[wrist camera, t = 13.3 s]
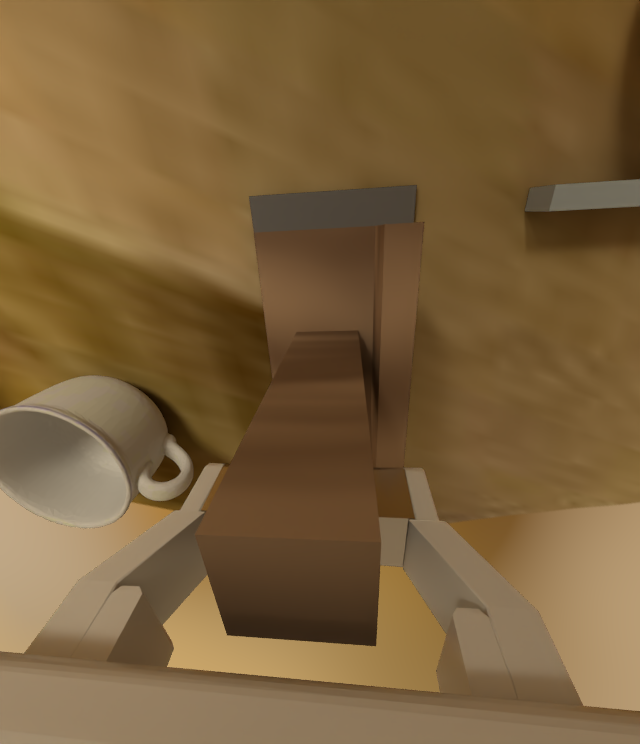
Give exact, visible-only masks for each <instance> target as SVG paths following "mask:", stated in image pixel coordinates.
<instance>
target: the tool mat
mask: <svg viewBox="0 0 640 744" xmlns="http://www.w3.org/2000/svg"><path fill="white" fill-rule="evenodd" d="M416 188H417V185H411V186H396V187H381V188H366V189H351V190H336V191H322V192H307V193H292V194H277V195H262V196H249V200H250V207H251V214H252V221H253V228H254V233H255V232H274V231H292V230H310V229H328V228H346V227H364V226H377V225H383V224H398V223H414V213H415V200H416Z"/></svg>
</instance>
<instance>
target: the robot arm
mask: <svg viewBox="0 0 640 744" xmlns="http://www.w3.org/2000/svg"><path fill="white" fill-rule="evenodd" d="M229 465H230V464H227V463H226V464H220V463H209V464H208V465H206V466H205V467H204V469H203V471H202V473H201V474H200V476H199V478H198V480H197V481H196V483H195V485H194V487H193V488H192V490H191V492H190V494H189V495H188V497H187V499H186V501H185V502H184V504H183V506H182V508H181V509H180V510H175V511H173V512H172V513H170V514H169V515H168V516H166V517H165V518H164V519H162V520H161V521H159V522H158V523H157V524H155V525H154V526H152V527H151V528H150V529H148V530H147V531H146V532H144V533H143V534H141V535H140V536H139V537H137V538H136V539H135V540H133V541H132V542H130V543H129V544H128V545H126V546H125V547H124V548H122V549H121V550H119V551H118V552H117V553H115V554H114V555H113V556H111V557H110V558H108V559H107V560H106V561H104V562H103V563H101V564H100V565H99V566H97V567H96V568H95V569H93V570H92V571H91V572H89V573H88V574H86V575H85V576H84V577H82V578H81V579H79V580H78V582H77V583H76V584H75V586H74V587H73V588H72V589H71V591H70V592H69V594H68V595H67V596H66V598H65V599H64V600H63V602H62V603H61V604H60V606H59V607H58V609H57V610H56V611H55V612H54V614H53V615H52V617H51V618H50V619H49V621H48V622H47V623H46V625H45V626H44V627H43V629H42V630H41V631H40V633H39V634H38V635H37V637H36V638H35V639H34V641H33V642H32V643H31V645H30V646H29V648H28V649H27V650H26V652H25V653H24V654H22V653H11V652H0V744H640V711H631V710H620V709H609V708H599V707H587V706H583V704H582V702H581V700H580V698H579V696H578V693H577V691H576V689H575V687H574V685H573V683H572V681H571V679H570V677H569V674H568V672H567V670H566V668H565V666H564V664H563V662H562V660H561V658H560V655H559V653H558V651H557V649H556V647H555V645H554V643H553V641H552V639H551V637H550V634H549V632H548V630H547V628H546V626H545V624H544V622H543V620H542V618H541V616H540V613H539V612H538V610H536V609H535V607H533V606H532V605H531V604H530V603H529V602H528V601H527V600H526V599H525V598H524V597H523V596H522V595H521V594H520V593H519V592H518V591H517V590H516V589H515V588H514V587H513V586H512V585H511V584H510V583H509V582H508V581H507V580H506V579H505V578H504V577H503V576H502V575H501V574H499V573H498V572H497V571H496V570H495V569H494V568H493V567H492V566H491V565H490V564H489V563H488V562H487V561H486V560H485V559H484V558H483V557H482V556H481V555H480V554H479V553H478V552H477V551H476V550H475V549H474V548H473V547H472V546H471V545H469V543H468V542H467V541H465V540H464V539H463V538H462V537H461V536H460V535H459V534H458V533H457V532H456V531H455V530H454V529H453V528H452V527H451V526H450V525H449V524H448V523H447V522H446V521H439V518H438V515H437V511H436V508H435V505H434V501H433V498H432V494H431V491H430V488H429V484H428V481H427V478H426V474H425V471H424V470H423V468H389V467H373V470H374V480H375V489H376V498H377V507H378V516H379V525H380V535H381V559H380V565H384V566H386V565H387V566H397V567H403V569H404V571H405V572H406V574H407V575H408V577H409V578H410V580H411V581H412V583H413V584H414V586H415V587H416V589H417V590H418V592H419V594H420V595H421V597H422V598H423V600H424V601H425V602H426V604H427V606H428V607H429V609H430V610H431V612H432V613H433V615H434V616H435V618H436V619H437V621H438V622H439V624H440V625H441V627H442V628H443V630H444V631H445V633H446V634H447V635H446V639H445V642H444V646H443V649H442V653H441V656H440V660H439V663H438V666H437V670H436V672H437V678H438V683H439V689H440V693H439V692H428V691H417V690H407V689H396V688H386V687H375V686H364V685H353V684H343V683H332V682H321V681H310V680H300V679H290V678H279V677H278V678H277V677H268V676H258V675H247V674H236V673H225V672H215V671H203V670H193V669H183V668H172V667H167V665H168V662H169V660H170V657H171V655H172V652H173V649H174V647H173V644H172V641H171V639H170V637H169V636H168V634H167V632H166V631H165V629H164V628H163V624H164V623H165V621H166V620H167V619H168V618H169V617H170V616H171V615H172V614H173V612H174V611H175V610H176V609H177V608H178V607H179V606H180V605H181V603H182V602H183V601H184V600H185V599H186V598H187V597H188V596H189V595H190V593H191V592H192V591H193V590H194V589H195V588H196V587H197V586H198V584H199V583H200V582H201V581H202V580H203V579H204V578H205V577H206V575H207V571H206V568H205V565H204V562H203V559H202V556H201V553H200V550H199V546H198V543H197V540H196V537H195V533H196V531H197V529H198V527H199V525H200V523H201V521H202V519H203V517H204V515H205V513H206V511H207V509H208V507H209V505H210V503H211V501H212V499H213V497H214V495H215V493H216V491H217V489H218V487H219V485H220V483H221V481H222V479H223V477H224V475H225V473H226V471H227V469H228V467H229Z"/></svg>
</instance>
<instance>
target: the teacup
mask: <svg viewBox="0 0 640 744" xmlns="http://www.w3.org/2000/svg"><path fill="white" fill-rule="evenodd" d="M165 455H166V456H167V457H169V458H170V459H172V460H173V461H174V462H175V463H176V464H177V465H178V466H179V468H180V470H181V473H180V474H179V476H177V477H176V478H174V479H173V480H170V481H168V482H158V481H155V480H153V479H152V476H153V474H154V473H155V471H156V470H157V469H158V467H159V465H160V464H161V462H162V460H163V458H164V456H165ZM193 472H194V469H193V463H192V460H191V458H190V456H189V455H188V454H187V453H186V452H185V450H184V449H183V448H181V447H180V446H179V445H178V444H177V443H176V438H175V437H174V436H173V435H171V434H168V430H167V426H166V422H165V420H164V417H163V415H162V413H161V412H160V410H159V409H158V407H157V406H156V405H155V403H154V402H153V401H152V400H151V399H150V398H149V397H148V396H147V395H145V394H144V393H143V392H142V391H140V390H139V389H137V388H136V387H134V386H132V385H130V384H128V383H126V382H124V381H121V380H119V379H115V378H111V377H106V376H82V377H77V378H73V379H70V380H67V381H64V382H62V383H59V384H57V385H54V386H52V387H50V388H48V389H46V390H44V391H42V392H40V393H37V394H35V395H33V396H31V397H29V398H28V399H26V400H24V401H22V402H20V403H18V404H16V405H14V406H11V407H7V408H4V409H1V410H0V488H1V489H2V490H3V491H4V492H5V493H6V494H7V495H8V496H9V497H10V498H12V499H13V500H14V501H15V502H17V503H18V504H20V505H21V506H22V507H24V508H25V509H27V510H29V511H30V512H32V513H34V514H36V515H38V516H41V517H43V518H45V519H47V520H49V521H52V522H55V523H57V524H61V525H66V526H70V527H79V528H98V527H102V526H106V525H109V524H111V523H113V522H115V521H117V520H118V519H119V518H121V517H122V516H123V515H124V514H125V512H126V511H127V509H128V507H129V505H130V503H131V502H132V500H133V499H134V498H135V497H136V496H137V494H138V493H139V492H140V493H141V494H142V495H143V496H145V497H146V498H148V499H151V500H154V501H167V500H170V499H173V498H175V497H177V496H179V495H180V494H182V493H183V492H184V491H185V490H186V489H187V488H188V487H189V485H190V484H191V481H192V479H193Z"/></svg>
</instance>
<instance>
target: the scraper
mask: <svg viewBox="0 0 640 744" xmlns="http://www.w3.org/2000/svg"><path fill="white" fill-rule="evenodd" d="M423 231H424V222H416V223H398V224H383V225H377V226H364V227H346V228H328V229H310V230H292V231H274V232H255V233H254V238H255V246H256V254H257V261H258V269H259V277H260V285H261V293H262V301H263V308H264V316H265V324H266V332H267V340H268V348H269V356H270V363H271V371H272V379H273V380H272V382H271V384H270V386H269V388H268V390H267V392H266V394H265V396H264V398H263V400H262V402H261V404H260V406H259V408H258V410H257V412H256V414H255V416H254V418H253V420H252V422H251V423H250V425H249V427H248V429H247V431H246V433H245V435H244V437H243V439H242V441H241V443H240V445H239V447H238V449H237V451H236V453H235V455H234V457H233V459H232V461H231V463H230V465H229V467H228V469H227V471H226V473H225V475H224V477H223V479H222V481H221V483H220V485H219V487H218V489H217V491H216V493H215V495H214V497H213V499H212V501H211V503H210V505H209V507H208V509H207V511H206V513H205V515H204V517H203V519H202V521H201V523H200V525H199V527H198V529H197V531H196V533H195V537H196V540H197V543H198V546H199V550H200V553H201V556H202V559H203V562H204V565H205V568H206V571H207V574H208V577H209V580H210V584H211V587H212V590H213V593H214V596H215V599H216V602H217V605H218V608H219V611H220V615H221V617H222V621H223V624H224V627H225V630H226V633H227V635H231V636H246V637H258V638H272V639H285V640H300V641H313V642H326V643H341V644H353V645H367V646H376V635H377V617H378V597H379V577H380V559H381V535H380V525H379V516H378V507H377V498H376V489H375V480H374V470H373V467H389V468H404V457H405V445H406V434H407V422H408V410H409V398H410V386H411V374H412V362H413V350H414V338H415V326H416V315H417V303H418V291H419V279H420V267H421V255H422V243H423Z"/></svg>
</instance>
